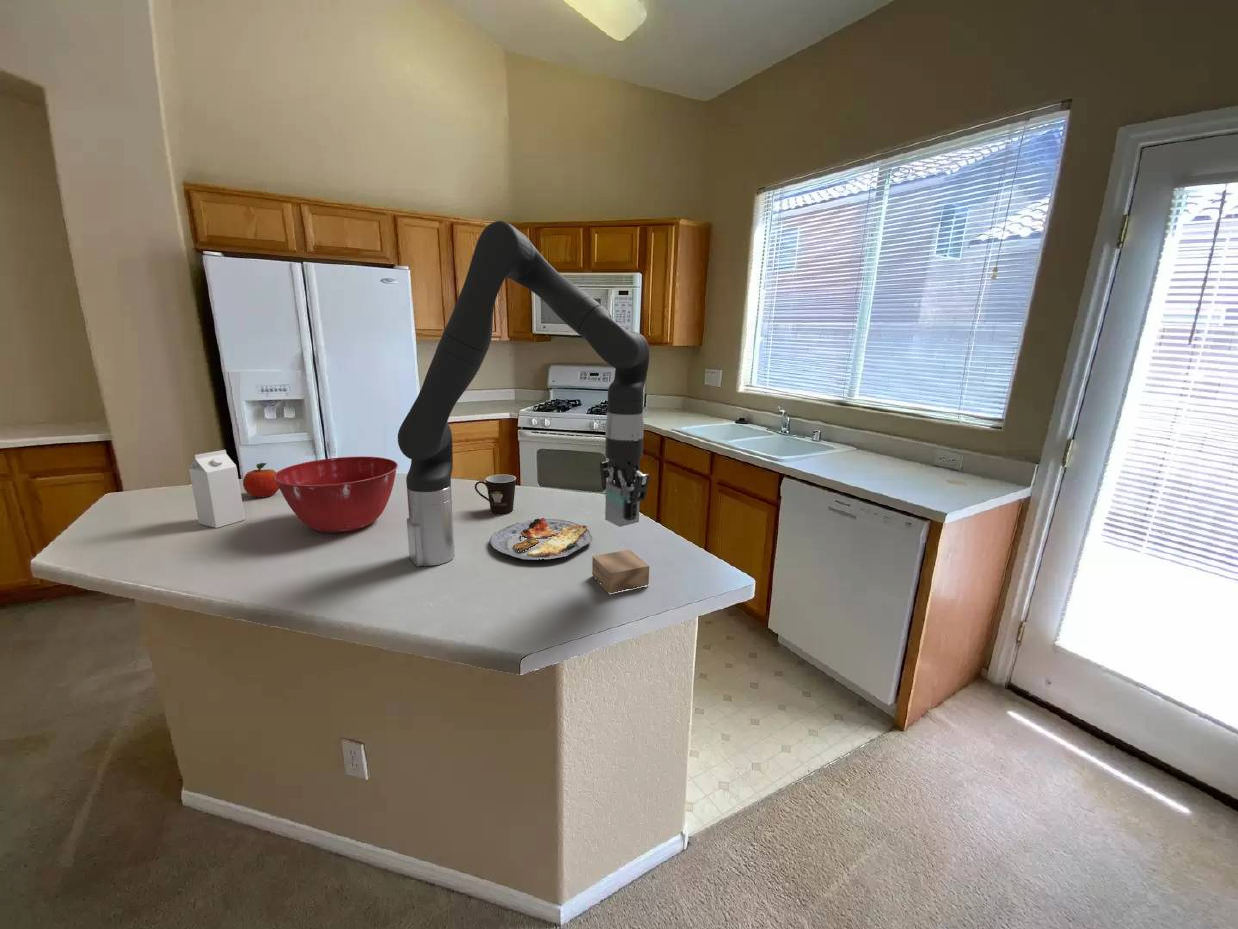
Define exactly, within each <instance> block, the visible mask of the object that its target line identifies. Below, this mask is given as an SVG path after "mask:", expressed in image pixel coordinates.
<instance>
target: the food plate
mask: <svg viewBox="0 0 1238 929" xmlns="http://www.w3.org/2000/svg"><path fill="white" fill-rule="evenodd" d="M553 530H557V531H561V533H560V532H558V533H560V534H558V533H556V532H554V531H553ZM518 532H519V533H518ZM517 533H518V534H521V535H522V537H524V538H527V539H526V540H524V541H523V542H521V543H519V542H518V543H517V542H516V543H514V544H513V545H512V548H514V549H515V550H514V549H513V550H514V551H513V550H511V549H510V548H509V546H508V545H509V544H508V541H509V540H512V541H513V539H514V538H513V537H512V534H517ZM521 535H520V536H521ZM514 536H516V535H514ZM552 536H554V537H553V538H552V539H551V540H550V539H549V541H547V542H544V544H542V545H541V546H540V547H538V548H534V549H533V550H531V551H530V552H529V553H528V552H527V553H526V555H524V554H522V553H519V552H523V551H525V550H528V549H529V548H531V547H533V546H535V545H536V544H538V543H539V540H536V539H547V538H548V537H552ZM512 538H513V539H512ZM592 541H593V537H592V535H591V533H590V530H589V529H588V526H587V525H582V524H578V523H575V522H573V521H569V520H563V519H554V518H553V519H551V518H544V517H542V518H535V519H532V520H531V519H530V520H526V521H521V522H516V523H514V524H511V525H509V526H506V527H505V528H502V529H500V530H498V531H496V532H494V533H493V534H492V535H491V536H490V538H489V543H490V544H491V546H492V547H493V549H494V550H496V551H498V552H500V553H502V554H505V555H506V556H509V557H513V558H519V559H521V560H536V561H537V560H539V559H540V561H543V560H542V559H544V560H551V559H552V560H553V559H557V558H563V557H567V556H569V555H571V554H573V553H574V552H577V551H579V550H580V549H581V548H583V547H585V546H587V545H588V544H590V543H591V542H592ZM507 546H508V547H507ZM508 548H509V549H508ZM510 550H511V551H510ZM516 551H517V552H516ZM518 551H519V552H518ZM528 551H529V550H528ZM561 552H562V553H561ZM523 553H524V552H523Z"/></svg>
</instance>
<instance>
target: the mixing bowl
mask: <svg viewBox="0 0 1238 929" xmlns="http://www.w3.org/2000/svg"><path fill="white" fill-rule="evenodd" d="M398 468H399V465H398V463H397V462H396V461H395V460H392V459H390V458H386V457H379V456H344V457H332V458H324V459H318V460H317V459H315V460H310V461H305V462H301V463H297V464H294V465H290V466H288V467H285V468H282V469H279V470H278V471H276V472H277V473H275V475H274V476H273V479H274V480H275V481H276V482H277V484H278V486H279V490H280V492H281V494H282V497H283V498H284V500H285V501H286V503H287V504H288V506H289V508H290V509H291V510H292V512H293V513H294V514H295V515H296V517H297V518H298V519H299V520H300V521H301V522H302V524H304V525H305V526H307V527H309V528H311V529H313V530H316V531H318V532H321V533H326V534H342V533H349V532H355V531H358V530H361V529H364V528H366V527H368V526H370V525H371V524H372V523H373V522H375V521H376V520H378V518H379V517H381V515H382V514H383V513H384V510H385V509H386V507H387V505H388V502H389V500H390V497H391V494H392V492H393V489H394V488H393V487H394V483H395V480H396V472H397V469H398Z"/></svg>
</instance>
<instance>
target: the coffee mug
mask: <svg viewBox="0 0 1238 929" xmlns="http://www.w3.org/2000/svg"><path fill="white" fill-rule="evenodd" d="M516 482H517V477H516V476H515V475H511V474H494V475H490V476H487V477H486V478H485V481H483V480H479V481H477V482H475V484H474V490H475V492H476V493H477V494H478V495H479V496H480V497H482V498H483V499H485V500H486V501H488V502H489V507H490V508H489V509H490V513H491V512H492V513H491V514H493V515H497V514H501V515H502V514H505V515H509V514H511V513H510V512H512V511H513V512H514V504H515V494H516V484H517V483H516ZM479 484H483V485H485V487H486V490H487V496H488V497H487V496H486V495H484V494H483V493H481V492H480V491H479V490H478V485H479ZM513 512H512V513H513ZM508 513H509V514H508ZM501 515H500V516H501Z"/></svg>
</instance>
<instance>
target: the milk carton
mask: <svg viewBox="0 0 1238 929" xmlns="http://www.w3.org/2000/svg"><path fill="white" fill-rule="evenodd" d="M188 471H189V475H190V476H189V477H190V482H191V486H192V493H193V498H194V503H195V509H196V514H197V520H198V523H199V525H203V526H208V527H211V528H216V529H217V528H221V527H224V526H228V525H231V524H234V523H238V522H241V521H244V520H245V519H246V518H245V512H244V506H243V505H244V504H243V499H242V498H243V497H242V493H241V492H242V491H241V486H240V481H239V474H238V468H237V464H236V463H234V461H233V460H232V459H231V457H230V456H229V455H228V454H227V450H226V449H221V450H217V451H216V450H215V451H210V452H209V451H208V452H204V453H197V454H194V461H193V462H192V463H191V465H190V466H189V467H188Z"/></svg>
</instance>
